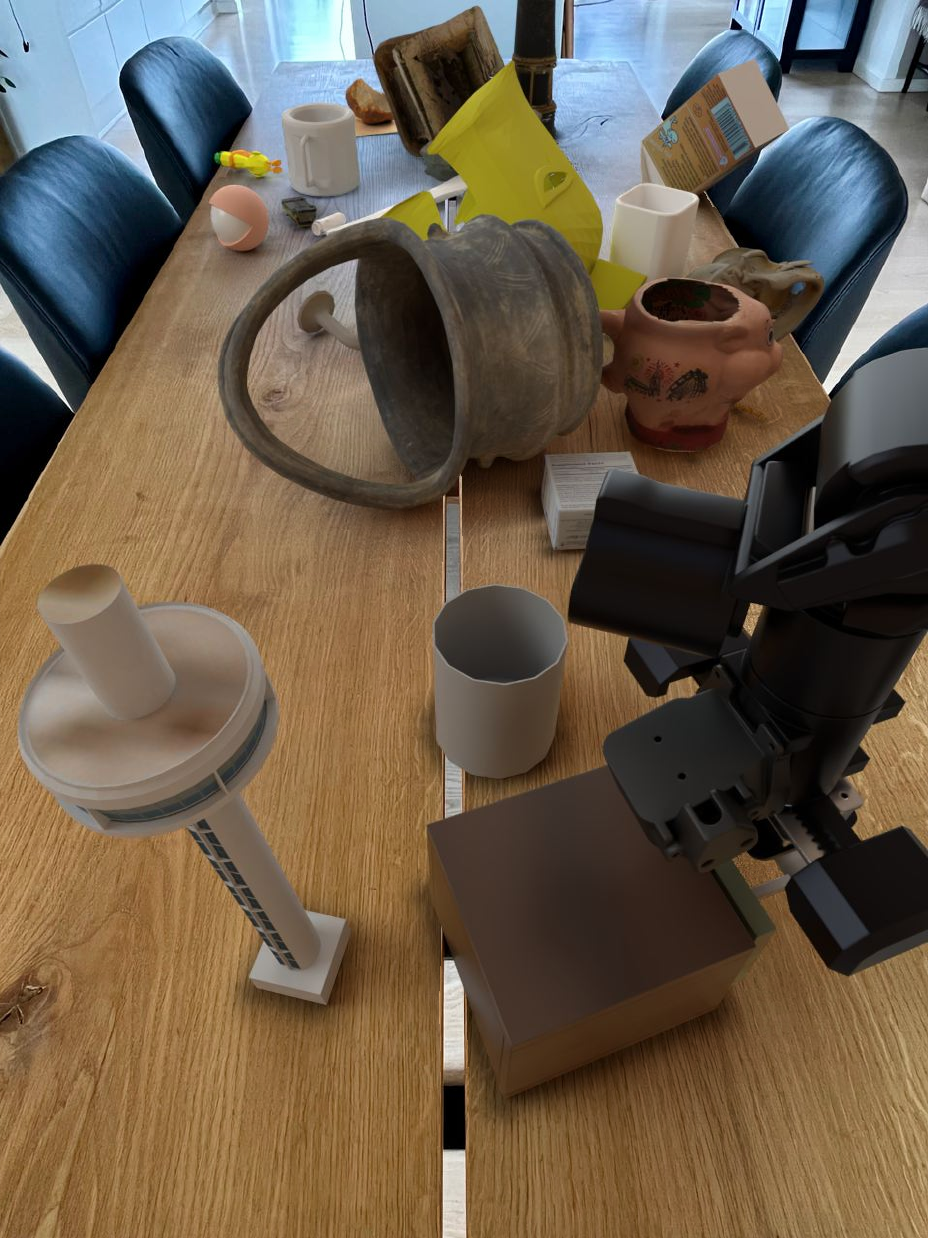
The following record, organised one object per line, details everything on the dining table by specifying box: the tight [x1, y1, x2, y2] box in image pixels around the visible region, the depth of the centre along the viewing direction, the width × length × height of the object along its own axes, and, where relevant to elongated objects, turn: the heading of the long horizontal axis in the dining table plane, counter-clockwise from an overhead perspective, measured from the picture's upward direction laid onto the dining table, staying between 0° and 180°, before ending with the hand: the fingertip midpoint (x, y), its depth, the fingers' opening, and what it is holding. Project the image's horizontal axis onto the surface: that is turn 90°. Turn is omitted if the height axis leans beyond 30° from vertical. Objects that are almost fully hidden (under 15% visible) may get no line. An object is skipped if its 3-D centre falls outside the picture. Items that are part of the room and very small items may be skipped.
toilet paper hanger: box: [296, 289, 361, 351], centre depth 99 cm, size 25×8×5 cm, turn 134°
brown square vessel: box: [371, 5, 506, 159], centre depth 138 cm, size 22×24×20 cm
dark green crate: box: [280, 196, 318, 228], centre depth 119 cm, size 4×8×2 cm, turn 25°
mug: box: [280, 102, 361, 197], centre depth 125 cm, size 14×11×10 cm
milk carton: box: [639, 58, 790, 196], centre depth 122 cm, size 11×11×19 cm
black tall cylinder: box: [511, 0, 558, 139], centre depth 136 cm, size 9×9×30 cm
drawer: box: [710, 851, 807, 986], centre depth 46 cm, size 16×10×7 cm, turn 111°
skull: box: [685, 247, 825, 343], centre depth 91 cm, size 12×18×12 cm
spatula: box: [325, 175, 467, 236], centre depth 121 cm, size 28×4×2 cm, turn 137°
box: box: [540, 450, 639, 551], centre depth 72 cm, size 8×4×9 cm
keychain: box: [732, 403, 766, 420], centre depth 86 cm, size 8×1×1 cm, turn 43°
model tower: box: [17, 563, 352, 1006], centre depth 36 cm, size 8×8×30 cm
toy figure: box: [214, 149, 283, 179], centre depth 132 cm, size 7×4×12 cm
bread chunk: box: [345, 77, 398, 137], centre depth 149 cm, size 15×11×11 cm
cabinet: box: [425, 764, 756, 1100], centre depth 45 cm, size 13×12×9 cm
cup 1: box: [432, 583, 569, 780], centre depth 55 cm, size 8×8×10 cm
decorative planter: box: [599, 277, 784, 453], centre depth 79 cm, size 20×12×14 cm, turn 87°
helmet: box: [380, 59, 647, 335], centre depth 90 cm, size 16×23×30 cm
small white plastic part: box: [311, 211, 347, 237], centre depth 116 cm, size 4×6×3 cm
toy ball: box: [208, 184, 270, 252], centre depth 111 cm, size 8×8×8 cm
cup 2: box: [608, 183, 700, 285], centre depth 92 cm, size 7×7×15 cm
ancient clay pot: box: [216, 214, 604, 511], centre depth 72 cm, size 22×23×30 cm
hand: (730, 847), depth 46 cm, fingers closed
